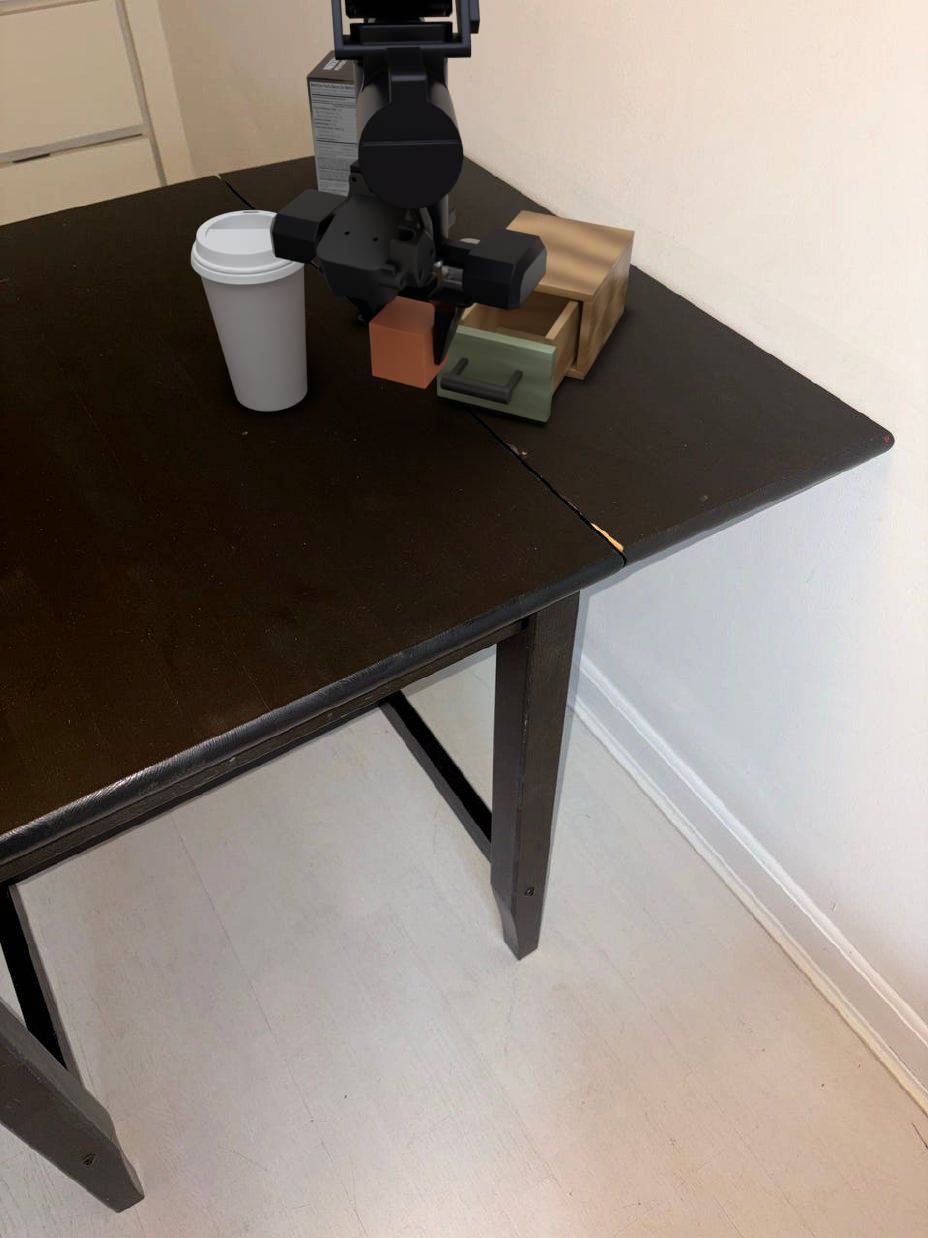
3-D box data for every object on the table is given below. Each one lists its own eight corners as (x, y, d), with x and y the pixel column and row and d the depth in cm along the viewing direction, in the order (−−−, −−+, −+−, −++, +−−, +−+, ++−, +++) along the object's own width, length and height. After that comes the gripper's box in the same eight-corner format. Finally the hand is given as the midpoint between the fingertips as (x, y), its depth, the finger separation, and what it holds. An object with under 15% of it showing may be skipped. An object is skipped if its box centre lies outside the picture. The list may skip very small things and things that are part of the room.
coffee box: (342, 193, 117) (330, 47, 105) (393, 198, 116) (386, 51, 105) (320, 226, 111) (304, 74, 99) (373, 231, 110) (364, 79, 98)
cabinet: (583, 380, 89) (593, 294, 83) (468, 353, 92) (470, 269, 86) (623, 312, 98) (634, 230, 92) (517, 290, 101) (522, 209, 95)
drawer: (529, 450, 80) (534, 380, 75) (417, 421, 83) (414, 352, 78) (588, 352, 91) (596, 285, 86) (487, 329, 94) (490, 263, 89)
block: (372, 375, 72) (368, 322, 68) (397, 346, 74) (395, 294, 71) (425, 389, 71) (424, 336, 67) (448, 359, 73) (448, 307, 70)
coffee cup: (340, 374, 90) (325, 215, 79) (295, 430, 83) (272, 267, 72) (249, 355, 92) (222, 198, 81) (199, 408, 85) (162, 247, 75)
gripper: (206, 160, 58) (247, 382, 69) (492, 218, 53) (484, 446, 64) (298, 99, 65) (321, 309, 76) (558, 145, 60) (540, 362, 71)
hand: (410, 355), depth 72 cm, fingers closed on block, 4 cm apart
